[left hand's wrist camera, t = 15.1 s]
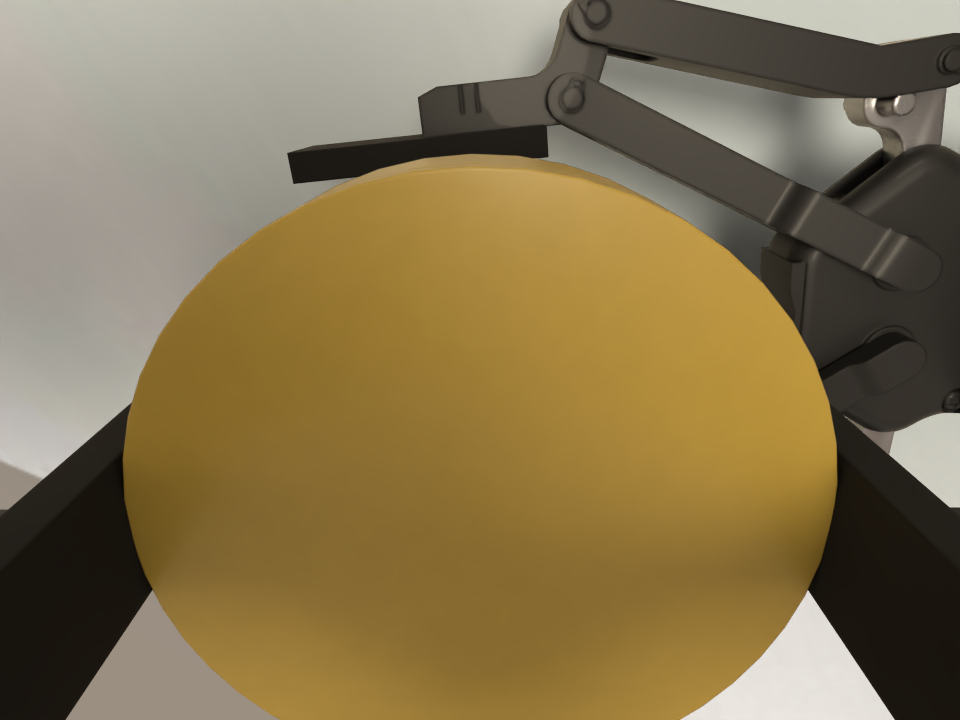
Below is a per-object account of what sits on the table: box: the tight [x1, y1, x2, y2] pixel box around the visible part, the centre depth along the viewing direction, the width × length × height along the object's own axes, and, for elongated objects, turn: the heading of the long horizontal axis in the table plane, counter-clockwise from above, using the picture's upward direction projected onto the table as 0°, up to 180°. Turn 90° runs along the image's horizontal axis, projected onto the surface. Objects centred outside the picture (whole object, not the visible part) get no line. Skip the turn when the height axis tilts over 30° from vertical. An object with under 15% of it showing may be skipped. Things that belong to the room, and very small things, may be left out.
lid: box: [123, 154, 837, 720], centre depth 11 cm, size 12×12×2 cm
